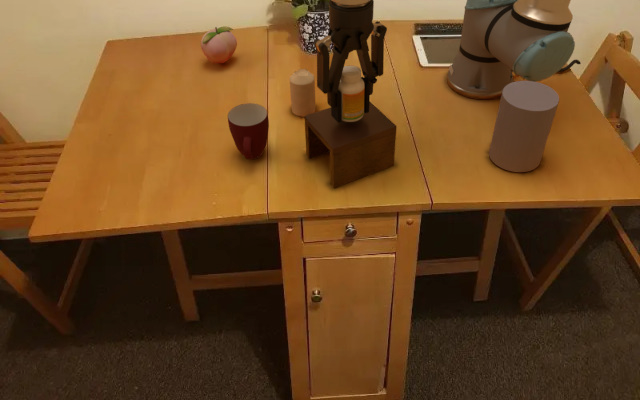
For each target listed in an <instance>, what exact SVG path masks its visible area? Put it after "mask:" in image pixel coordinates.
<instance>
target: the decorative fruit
mask: <svg viewBox="0 0 640 400" xmlns="http://www.w3.org/2000/svg"><path fill="white" fill-rule="evenodd" d="M233 30H234V28H232V27H230V26H220V27H217V26H215V27H214V28H212V29H209V30H208V31H207V32H205V33H204V34H203V35H202V38H201V40H200V49H201V51H202V53H203V55H204V56H205V57H206V59H207V60H209V62H212V63H214V64H224V63H225V62H227V61H229V60H230V59H231V58H232V57H233V56H234V54H235V52H236V49H237V46H238V41H237V38H236V36H235V35H234V33H232V32H231V31H233Z"/></svg>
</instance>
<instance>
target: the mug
mask: <svg viewBox="0 0 640 400" xmlns="http://www.w3.org/2000/svg"><path fill="white" fill-rule="evenodd" d="M268 113H269V112H268V110H267V108H266V107H264V106H263V105H262V104H258V103H252V102H247V103H242V104H238V105H236V106H233V107H232V108H231V109H230V110H229V111H228V113H227V124H228V127H229V128H228V129H229V131H230V134H231V137H232V139H233V142H234V145H235V147H236V149H237V150H238V151H239V153H240V154H241V155H242V156H243V157H244V158H245V159H247V160H256V159H258V158H261V156H262V155H263V153H264V152H265V149H266V148H267V144H268V137H269V126H270V124H269V114H268Z"/></svg>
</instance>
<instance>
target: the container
mask: <svg viewBox="0 0 640 400" xmlns="http://www.w3.org/2000/svg"><path fill="white" fill-rule="evenodd" d="M559 103H560V96H559V94H558V92H557V91H556V90H555V89H554V88H553V87H551V86H549V85H546V84H544V83H542V82H539V81H537V82H534V81H528V80H517V81H513V82H512V83H510V84H508V85H506V86H505V87H504V89H503V92H502V96H501V97H500V101H499V105H498V110H497V113H496V119H495V123H494V127H493V132H492V135H491V136H492V137H491V142H490V145H489V150H488V156H489V159H490V160H491V162H492V163H493V164H495V165H496V166H497V167H499V168H501V169H503V170H506V171H508V172H513V173H526V172H532V171H533V170H535V169H537V168H538V167H539V166H540V163H541V162H542V158H543V155H544V151H545V148H546V145H547V142H548V139H549V135H550V132H551V128H552V125H553V123H554V118H555V116H556V112H557V109H558V106H559Z"/></svg>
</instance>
